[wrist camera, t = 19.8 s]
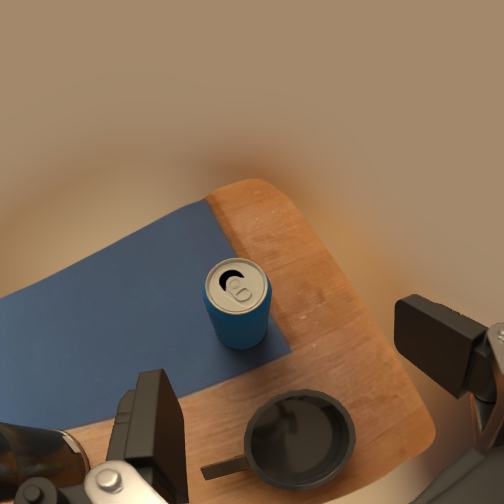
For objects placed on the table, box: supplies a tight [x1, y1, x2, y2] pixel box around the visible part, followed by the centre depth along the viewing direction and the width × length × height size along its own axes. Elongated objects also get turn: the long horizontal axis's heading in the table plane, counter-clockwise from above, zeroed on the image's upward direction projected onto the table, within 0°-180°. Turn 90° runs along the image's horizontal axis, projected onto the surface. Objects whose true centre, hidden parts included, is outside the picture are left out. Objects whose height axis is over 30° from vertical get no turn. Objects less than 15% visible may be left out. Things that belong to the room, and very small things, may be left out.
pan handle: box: [200, 454, 250, 480], centre depth 25 cm, size 5×2×4 cm, turn 111°
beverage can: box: [203, 258, 272, 349], centre depth 31 cm, size 6×6×12 cm
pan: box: [244, 389, 355, 491], centre depth 27 cm, size 12×12×4 cm
